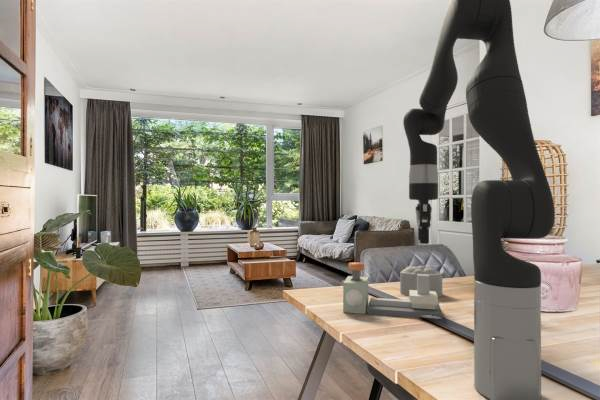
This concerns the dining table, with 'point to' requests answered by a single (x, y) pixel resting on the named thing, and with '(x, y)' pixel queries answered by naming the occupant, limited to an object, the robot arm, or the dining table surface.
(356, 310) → the end cabinet
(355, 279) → the button
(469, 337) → the dining table surface
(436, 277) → the grey lumpy-topped block
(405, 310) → the rail board
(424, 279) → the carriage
